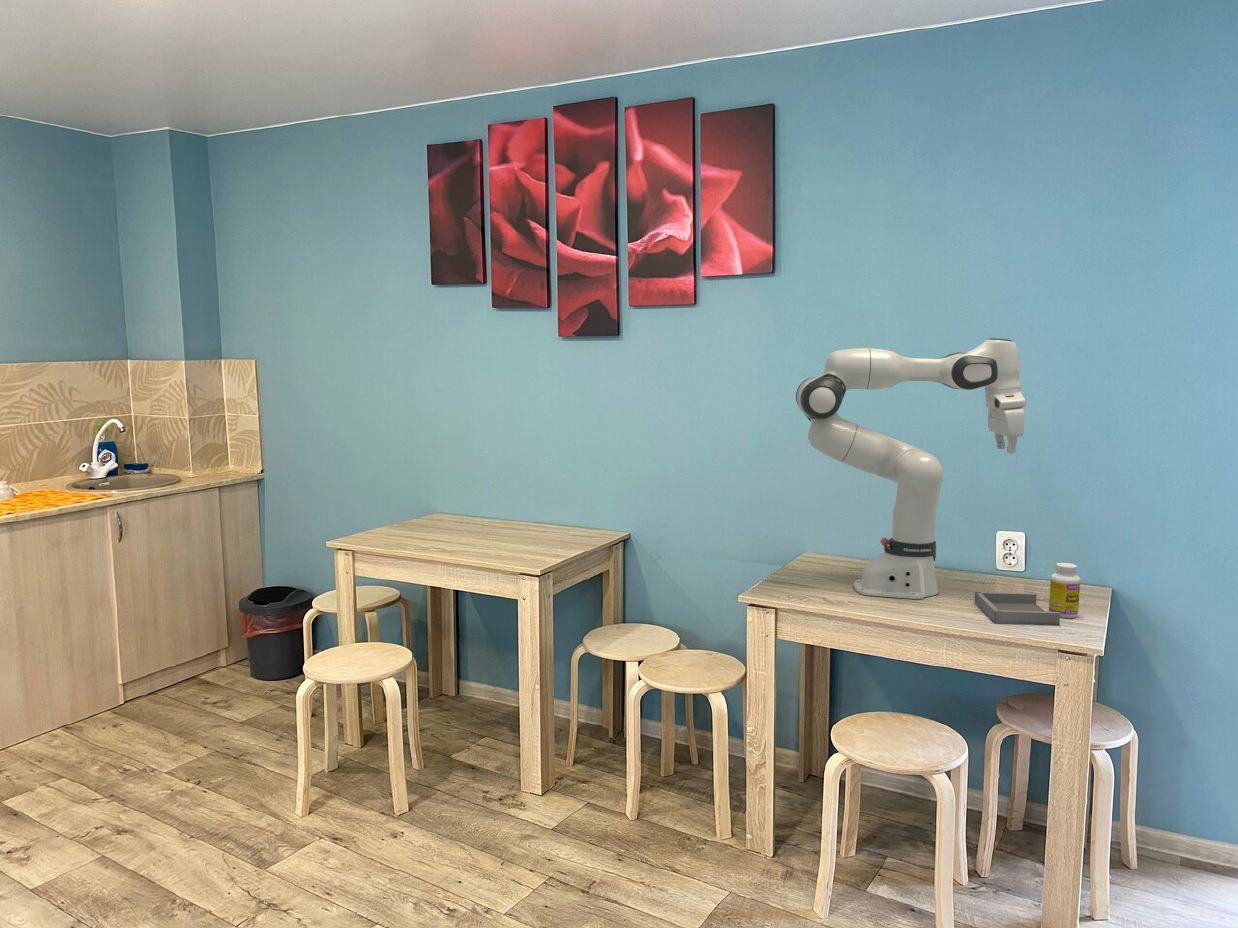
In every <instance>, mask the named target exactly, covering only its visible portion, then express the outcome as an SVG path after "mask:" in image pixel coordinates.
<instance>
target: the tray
mask: <svg viewBox="0 0 1238 928" xmlns="http://www.w3.org/2000/svg"><path fill="white" fill-rule="evenodd" d="M1037 596H1038V595H1037V593H1036V592H1001V591H1000V592H999V591H997V592H995V591H975V592H974V604H975V605H976V606H977V607H978V608H979V609H980V610H981V611H982V612H983V613H984V614H985V615H986V616H987V618H989V619H990V621H992V623H993V624H995V625H997V624H999V625H1001V624H1002V625H1006V624H1007V625H1029V624H1034V625H1038V626H1060V622H1061V621H1060V620H1061V618H1060V613H1059V612H1049V611H1045V610H1044V608H1042V607H1041V606H1039V605H1038V604H1037ZM996 623H997V624H996Z"/></svg>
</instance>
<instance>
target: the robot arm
mask: <svg viewBox="0 0 1238 928" xmlns="http://www.w3.org/2000/svg"><path fill="white" fill-rule="evenodd" d="M1019 353H1020V352H1019V350H1018V345H1017V344H1016V342H1015V341H1014V340H1012V339H1007V338H994V337H992V338H991V337H990V338H987V339H985V340H984V342H982V343H981V344H979V345H978V346H976V347H975V348H973V349H971V350H969V351H966V352H953V353H950V354H948V355H946V356H943V357H939V358H924V357H923V358H921V357H920V358H919V357H918V358H917V357H915V358H914V357H913V358H912V357H908V356H907V357H906V356H903V355H901V354H899V353H897V352H895V351H894V350H887V349H884V348H883V349H882V348H875V347H874V348H873V347H856V348H854V347H853V348H844V349H840V350H839V349H838V350H834V351H832V352H831V353H830V354H829V355H828V356H827V358H826V360H825V363H824V370H823V373H822V374H821V375H820V376H813V377H809V378H806V379H805V380H803V381H802V382H801V383H800V384H799V385H798V388H797V389H796V393H795V401H796V404H797V406H798V408H799V410H801V412H802V413H803V415H804V416H805V417H806V419H808V421H809V422H810V426H809V429H808V434H807V436H808V442H809V444H810V446H811V447H812V448H814V449H815V450H817V451H818V452H820V453H822V454H823V455H825V456H828V457H829V458H832V459H834V460H836V461H838V462H841V463H843V464H846V465H848V466H851V467H853V468H855V469H858V470H860V471H864V472H866V473H868V474H872V475H875V476H878V477H881V478H882V479H886V480H889V481H892V482H894V483H897V491H896V497H895V503H894V507H893V510H892V529H891V530H892V534H891V538H889V539H888V538H887V537H881V539H880V544H881V545H882V546H883V550H884V551H883V552H881V554H879V555H877V556H876V557H874V558H873V559H871V560H870V561H868V562H867V563H866V564H865V565H864V567H863V571H862V573H861V578H860V579H855V580H854V582H853V585H852V586H853V587H852V588H853V589H854V591H855V592H856V593H858V594H860V595H864V596H870V597H872V596H873V597H883V598H884V597H885V598H898V599H899V598H900V599H909V600H910V599H913V600H922V599H924V598H927V597H933V596H934V595H937V594H939V588H938V582H937V578H936V569H935V568H936V567H935V561H936V558H937V541H936V540H935V535H936V534H935V533H936V517H937V516H936V515H937V508H938V502H939V497H940V492H941V486H942V481H943V478H944V471H943V466H942V464H941V461H939V459H938V458H937V457H936V456H935V455H933V454H931V453H929V452H927V451H926V450H923V449H922V448H920V447H917V446H914V445H911V444H910V443H909V444H908V443H906V442H904V441H901V440H898V439H895V438H893V437H891V436H888V435H885V434H883V433H880V432H878V431H875V430H872V429H870V428H869V427H868V428H867V427H865V426H863V425H860V424H857V423H855V422H853V421H849V420H848V419H847V420H846V419H845V418H843V417H842V416H840V415H839V414H838V411H839V409H840V408H841V405H842V403H843V401H844V398H845V395H846V392H847V390H871V391H872V390H882V389H883V390H884V389H889V388H890V389H891V388H893V387H895V386H897V385H899V384H901V383H904V382H934V383H935V382H936V383H939V384H942V385H944V386H946V387H948V388H950V389H953V390H954V389H955V390H963V391H973V390H977V389H979V388H980V389H981V388H982V387H984V393H985V395H984V396H985V407H986V408H987V426H988V431H990V432H993V434H994V438H995V442H996V449H998V450H1005V449H1007V450H1006V451H1007V453H1008V454H1016V452H1017V448H1016V446H1017V442H1018V438H1020V437H1021V438H1022V437H1023V435H1024V433H1025V409H1024V408H1025V407H1026V405H1027V401H1026V398H1025V397H1024V395H1023V393H1022V385H1021V382H1020V373H1021V363H1020V354H1019ZM1004 436H1005V437H1006V440H1007V445H1006V442H1005V438H1004Z"/></svg>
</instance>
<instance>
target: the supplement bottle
mask: <svg viewBox="0 0 1238 928" xmlns="http://www.w3.org/2000/svg"><path fill="white" fill-rule="evenodd" d="M1077 570H1078V566H1077V564H1074V563H1069V562H1057V563H1056V564H1055V571H1056V572H1054V573H1052V575H1051V577H1050V584H1049V585H1050V586H1049V601H1048V602H1049V603H1048V612H1059V613H1060V619H1061V618H1062V619H1074V618H1077V617H1078V615H1079V606H1080V605H1079V603H1080V593H1081V592H1080V590H1081V578H1080V576H1078V575H1077V574H1076V573H1077Z"/></svg>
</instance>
